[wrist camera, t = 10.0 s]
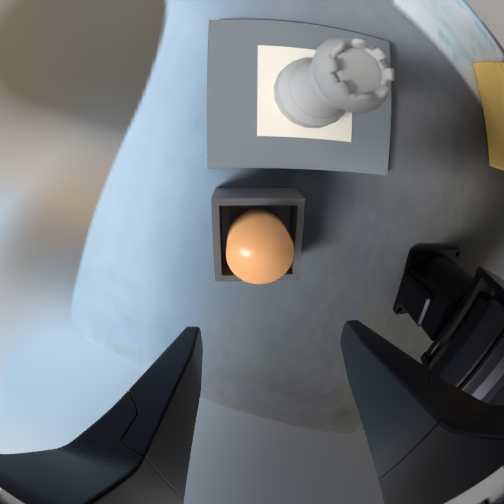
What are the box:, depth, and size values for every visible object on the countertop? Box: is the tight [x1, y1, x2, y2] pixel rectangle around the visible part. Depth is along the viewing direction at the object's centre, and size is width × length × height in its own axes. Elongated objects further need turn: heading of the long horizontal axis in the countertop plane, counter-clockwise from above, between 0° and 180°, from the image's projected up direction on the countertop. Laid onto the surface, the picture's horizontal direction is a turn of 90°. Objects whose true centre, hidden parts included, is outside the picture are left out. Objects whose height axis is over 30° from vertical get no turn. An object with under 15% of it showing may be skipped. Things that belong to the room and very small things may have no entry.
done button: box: [226, 209, 294, 284], centre depth 16 cm, size 4×4×2 cm
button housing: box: [211, 187, 305, 281], centre depth 17 cm, size 5×5×3 cm
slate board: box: [207, 19, 391, 176], centre depth 15 cm, size 12×10×1 cm
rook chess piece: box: [274, 36, 395, 128], centre depth 11 cm, size 4×4×8 cm
